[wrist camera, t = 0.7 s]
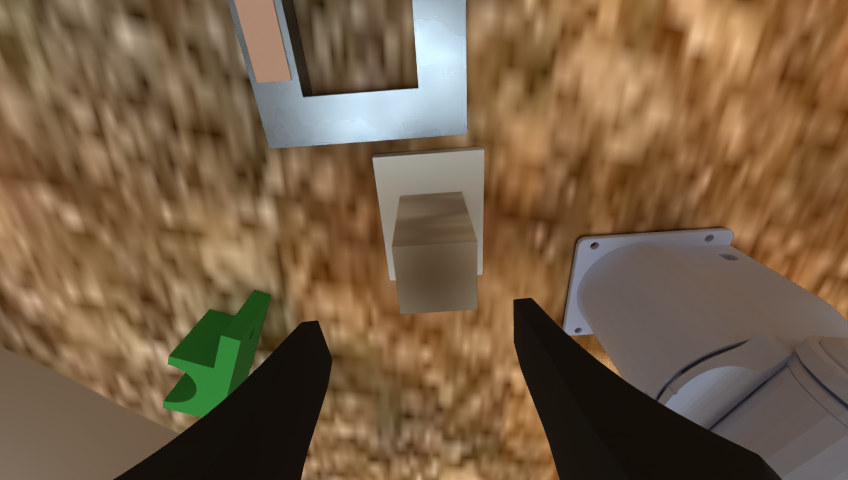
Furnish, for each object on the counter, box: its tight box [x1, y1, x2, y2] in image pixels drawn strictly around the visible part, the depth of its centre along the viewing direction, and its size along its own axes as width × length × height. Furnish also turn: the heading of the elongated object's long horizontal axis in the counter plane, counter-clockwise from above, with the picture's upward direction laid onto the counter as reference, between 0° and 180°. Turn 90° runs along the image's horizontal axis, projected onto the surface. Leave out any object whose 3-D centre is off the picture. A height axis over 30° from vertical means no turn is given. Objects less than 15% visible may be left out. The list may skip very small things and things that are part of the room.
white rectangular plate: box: [372, 146, 484, 281], centre depth 20 cm, size 6×8×1 cm
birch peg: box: [392, 191, 478, 314], centre depth 17 cm, size 4×4×6 cm
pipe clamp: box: [163, 290, 271, 417], centre depth 23 cm, size 11×4×5 cm, turn 156°
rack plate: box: [228, 0, 467, 149], centre depth 15 cm, size 10×10×2 cm
